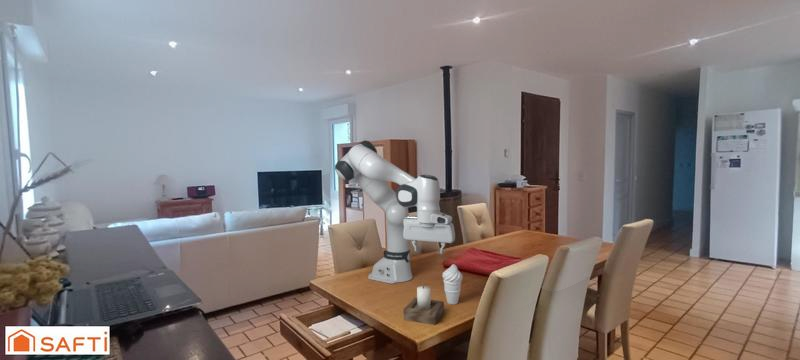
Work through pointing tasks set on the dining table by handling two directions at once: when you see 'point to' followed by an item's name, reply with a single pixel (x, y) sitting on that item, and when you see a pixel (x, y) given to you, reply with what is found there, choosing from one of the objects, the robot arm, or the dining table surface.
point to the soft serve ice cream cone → (452, 284)
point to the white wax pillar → (423, 298)
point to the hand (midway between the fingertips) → (428, 252)
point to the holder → (424, 312)
